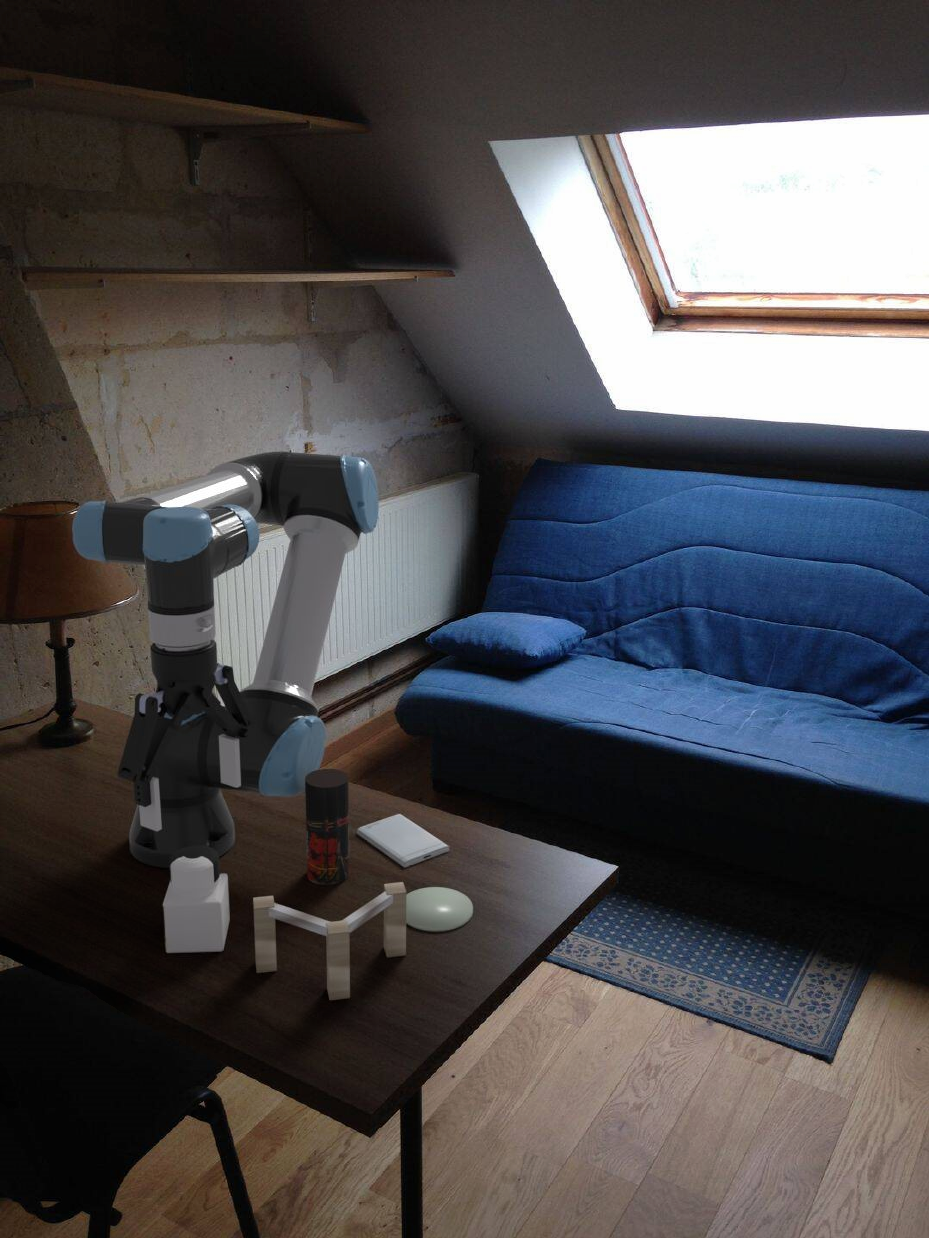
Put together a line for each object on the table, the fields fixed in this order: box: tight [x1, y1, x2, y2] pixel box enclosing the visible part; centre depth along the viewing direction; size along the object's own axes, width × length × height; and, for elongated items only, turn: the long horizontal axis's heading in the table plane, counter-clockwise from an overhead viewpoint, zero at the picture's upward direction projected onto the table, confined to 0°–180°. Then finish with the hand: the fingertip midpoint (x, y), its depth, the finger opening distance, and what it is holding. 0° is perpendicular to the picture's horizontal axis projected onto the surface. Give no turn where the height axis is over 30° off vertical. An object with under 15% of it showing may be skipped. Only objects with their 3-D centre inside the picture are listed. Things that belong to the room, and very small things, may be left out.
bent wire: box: [252, 881, 407, 1001], centre depth 132 cm, size 9×18×9 cm, turn 103°
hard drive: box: [356, 813, 450, 868], centre depth 165 cm, size 2×8×12 cm
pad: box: [406, 886, 474, 933], centre depth 147 cm, size 10×10×1 cm
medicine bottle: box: [162, 846, 231, 954], centre depth 138 cm, size 7×7×12 cm
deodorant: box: [304, 768, 350, 886], centre depth 153 cm, size 6×6×15 cm
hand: (192, 805), depth 135 cm, fingers open, 13 cm apart
